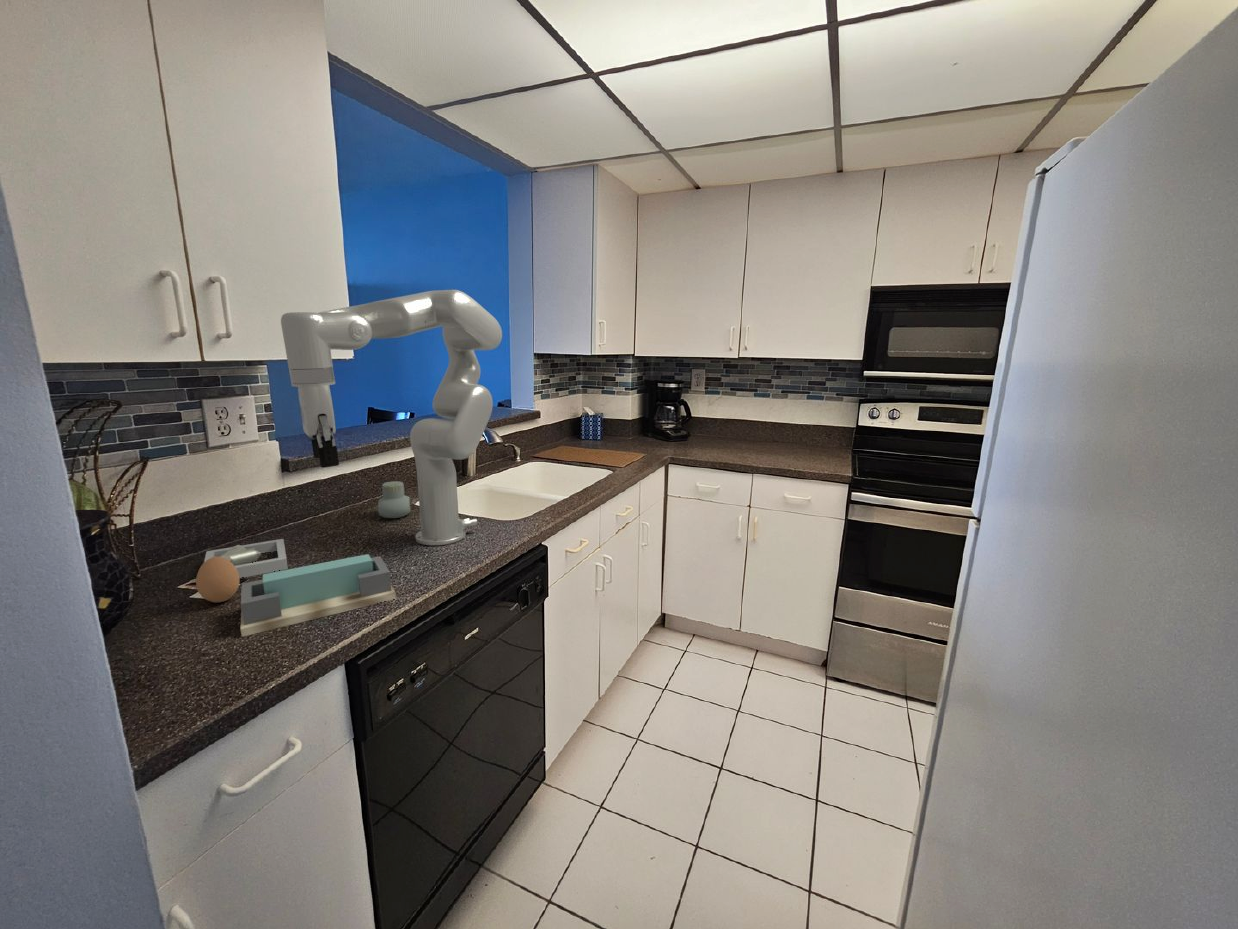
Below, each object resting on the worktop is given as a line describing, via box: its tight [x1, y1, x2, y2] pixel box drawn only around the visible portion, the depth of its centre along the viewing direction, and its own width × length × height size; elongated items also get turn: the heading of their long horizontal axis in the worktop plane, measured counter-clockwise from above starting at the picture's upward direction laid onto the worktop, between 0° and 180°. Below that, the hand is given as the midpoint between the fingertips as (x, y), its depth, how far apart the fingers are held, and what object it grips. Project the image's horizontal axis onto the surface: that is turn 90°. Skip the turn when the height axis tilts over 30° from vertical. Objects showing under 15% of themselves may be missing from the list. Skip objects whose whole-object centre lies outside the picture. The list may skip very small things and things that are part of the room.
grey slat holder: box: [240, 555, 392, 625], centre depth 99 cm, size 24×10×4 cm, turn 125°
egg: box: [195, 557, 240, 604], centre depth 100 cm, size 7×7×9 cm
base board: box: [240, 584, 397, 638], centre depth 100 cm, size 25×12×2 cm, turn 125°
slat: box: [262, 553, 373, 610], centre depth 100 cm, size 18×4×6 cm, turn 125°
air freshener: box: [377, 480, 411, 519], centre depth 153 cm, size 11×8×10 cm
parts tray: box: [203, 538, 289, 579], centre depth 117 cm, size 15×15×2 cm
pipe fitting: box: [220, 544, 262, 566], centre depth 117 cm, size 8×4×7 cm
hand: (326, 461), depth 105 cm, fingers open, 9 cm apart
